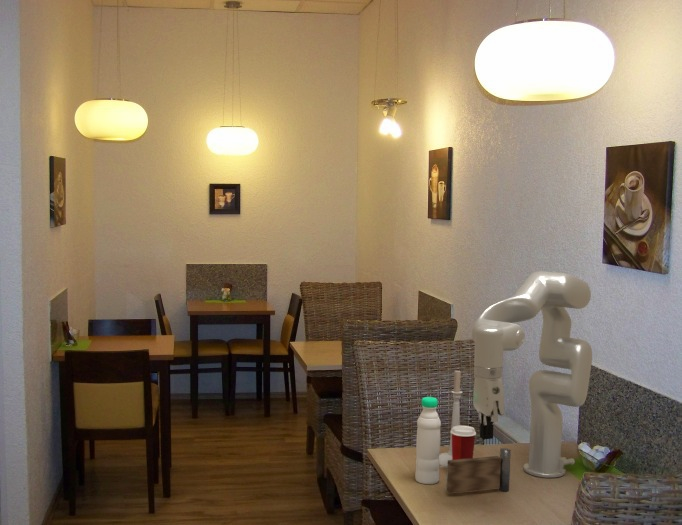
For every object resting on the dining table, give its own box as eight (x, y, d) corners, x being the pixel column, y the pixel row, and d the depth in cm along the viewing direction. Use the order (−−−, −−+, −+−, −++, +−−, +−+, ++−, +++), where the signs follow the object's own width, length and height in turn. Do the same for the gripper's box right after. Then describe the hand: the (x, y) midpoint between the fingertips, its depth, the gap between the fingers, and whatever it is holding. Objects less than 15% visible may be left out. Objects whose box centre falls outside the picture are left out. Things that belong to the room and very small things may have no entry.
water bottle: (437, 486, 239) (440, 402, 236) (413, 483, 240) (416, 400, 238) (439, 477, 246) (442, 396, 243) (416, 475, 247) (419, 394, 245)
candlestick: (437, 454, 268) (440, 364, 266) (476, 458, 265) (480, 367, 262) (431, 466, 256) (434, 372, 253) (472, 471, 252) (475, 375, 250)
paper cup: (476, 470, 253) (478, 426, 251) (472, 478, 245) (473, 433, 244) (451, 467, 255) (453, 423, 254) (446, 475, 248) (448, 430, 247)
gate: (496, 486, 237) (497, 455, 236) (500, 488, 235) (501, 458, 234) (446, 491, 232) (447, 460, 231) (449, 493, 230) (450, 462, 229)
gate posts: (506, 488, 238) (508, 447, 237) (510, 491, 235) (512, 451, 234) (446, 490, 235) (447, 449, 234) (449, 493, 233) (450, 452, 232)
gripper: (514, 377, 213) (512, 445, 215) (488, 364, 228) (486, 428, 230) (487, 379, 211) (486, 448, 213) (463, 366, 226) (462, 431, 228)
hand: (486, 438), depth 221 cm, fingers closed
